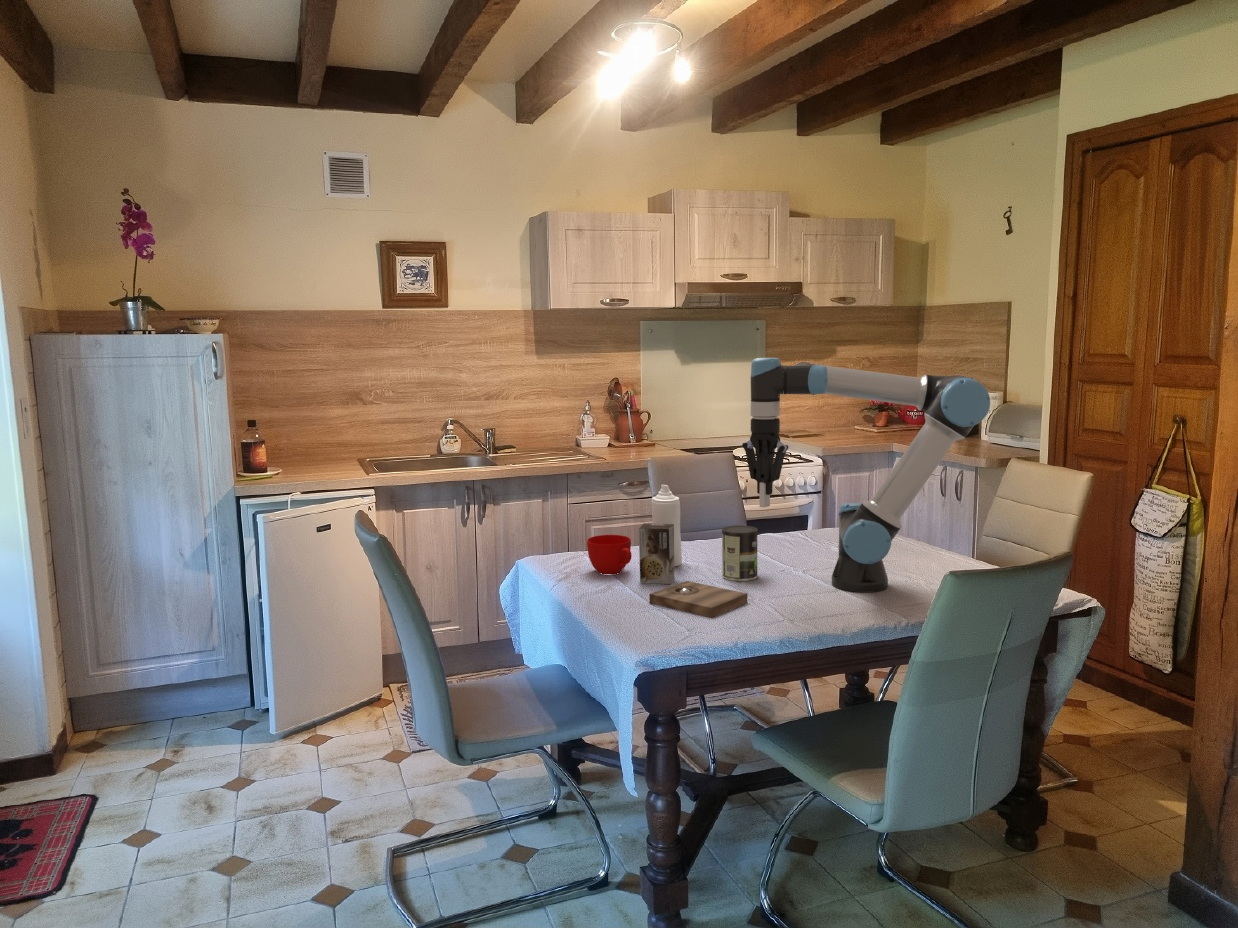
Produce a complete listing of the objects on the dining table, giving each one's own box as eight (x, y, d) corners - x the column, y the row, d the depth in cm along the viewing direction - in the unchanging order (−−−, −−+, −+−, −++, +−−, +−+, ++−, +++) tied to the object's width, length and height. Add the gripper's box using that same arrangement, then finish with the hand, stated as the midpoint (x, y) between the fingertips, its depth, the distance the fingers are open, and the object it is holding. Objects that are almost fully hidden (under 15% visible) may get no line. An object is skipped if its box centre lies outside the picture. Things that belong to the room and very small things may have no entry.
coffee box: (675, 578, 270) (674, 523, 268) (670, 584, 264) (669, 528, 262) (644, 577, 273) (643, 522, 270) (638, 582, 266) (638, 527, 264)
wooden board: (747, 602, 246) (747, 593, 245) (711, 617, 234) (711, 607, 234) (686, 589, 259) (686, 580, 259) (649, 602, 247) (649, 593, 247)
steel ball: (692, 600, 250) (694, 589, 249) (684, 603, 247) (686, 592, 246) (683, 596, 252) (684, 585, 251) (675, 598, 249) (677, 587, 248)
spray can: (692, 566, 283) (691, 484, 279) (660, 571, 279) (660, 488, 275) (673, 558, 293) (672, 479, 290) (643, 562, 289) (642, 482, 285)
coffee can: (758, 572, 275) (758, 525, 273) (756, 582, 265) (756, 533, 263) (723, 571, 277) (723, 524, 275) (720, 580, 267) (720, 532, 265)
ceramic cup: (612, 583, 266) (611, 549, 265) (579, 571, 280) (578, 538, 278) (648, 575, 274) (648, 542, 272) (614, 564, 287) (613, 532, 286)
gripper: (794, 417, 243) (793, 507, 247) (752, 415, 252) (751, 501, 255) (779, 420, 238) (778, 511, 241) (736, 417, 246) (736, 505, 250)
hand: (764, 506), depth 248 cm, fingers closed
